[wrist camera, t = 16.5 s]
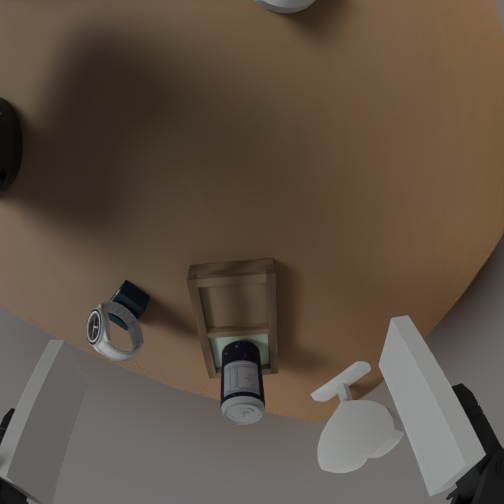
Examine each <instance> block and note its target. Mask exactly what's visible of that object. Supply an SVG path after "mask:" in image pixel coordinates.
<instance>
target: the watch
mask: <svg viewBox="0 0 504 504" xmlns="http://www.w3.org/2000/svg"><path fill="white" fill-rule="evenodd" d="M149 298H150V297H149V296H148V295H146V294H145V293H144V292H142V291H141V290H139V289H138V288H137V287H135V286H134V285H133V284H131V283H130V282H128V281H127V280H125V282H124V283H123V284H122V285H121V287H120V288H119V289H118V290H117V292H116V293H115V294H114V296H113V297H112V298H111V299H110V301H109V302H108V301H106V302H104V303H101V304H100V305H99V306H98V307H97V308H94V309H93V310H92V311H91V313H90V315H89V317H88V321H87V327H86V334H87V339H88V342H89V344H90V345H92V346H94V348H95V349H96V350H97V351H98V352H99V353H101V354H102V355H104V356H105V357H107V358H109V359H112V360H115V361H126V360H128V359H130V358H131V357H133V356H134V355H135V354H136V353H137V352H138V351H139V349H140V348H141V346H142V344H143V334H142V330H141V326H140V323H139V321H138V320H137V319H138V317H139V316H140V315H141V314H142V313H143V312H144V311H145V309H146V306H147V304H148V301H149ZM110 320H111V321H113V322H114V323H116V324H117V325H119V326H120V327H122V328H123V329H125V330H126V331H127V330H128V332H129V336H130V340H131V348H132V351H125V352H124V351H122V350H119V349H117V348H116V347H114V346H112V345H111V344H110V343H109V342H111V338H110V335H109V332H110Z"/></svg>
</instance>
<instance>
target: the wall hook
mask: <svg viewBox="0 0 504 504" xmlns="http://www.w3.org/2000/svg"><path fill="white" fill-rule="evenodd" d="M253 1H254V2H256V3H257V4H258V5H260V6H261V7H263V8H265V9H267V10H270V11H273V12H278V13H294V12H298V11H301V10H303V9H305V8H307V7H309V6H310V5H311V4H312V3H313V2H314V1H315V0H253Z"/></svg>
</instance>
